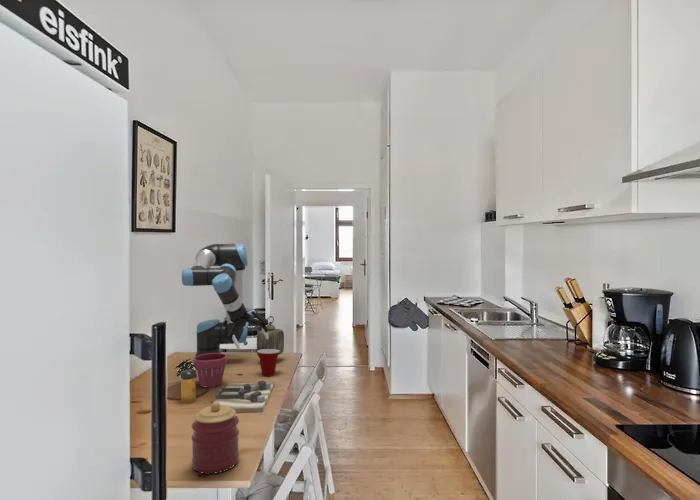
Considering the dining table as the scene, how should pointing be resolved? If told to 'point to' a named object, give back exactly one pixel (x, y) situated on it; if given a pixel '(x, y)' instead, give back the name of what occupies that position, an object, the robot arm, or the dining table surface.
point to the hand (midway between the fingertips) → (253, 342)
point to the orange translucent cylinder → (188, 386)
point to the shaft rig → (245, 396)
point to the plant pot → (210, 368)
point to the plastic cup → (268, 361)
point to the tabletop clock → (271, 339)
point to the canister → (215, 439)
